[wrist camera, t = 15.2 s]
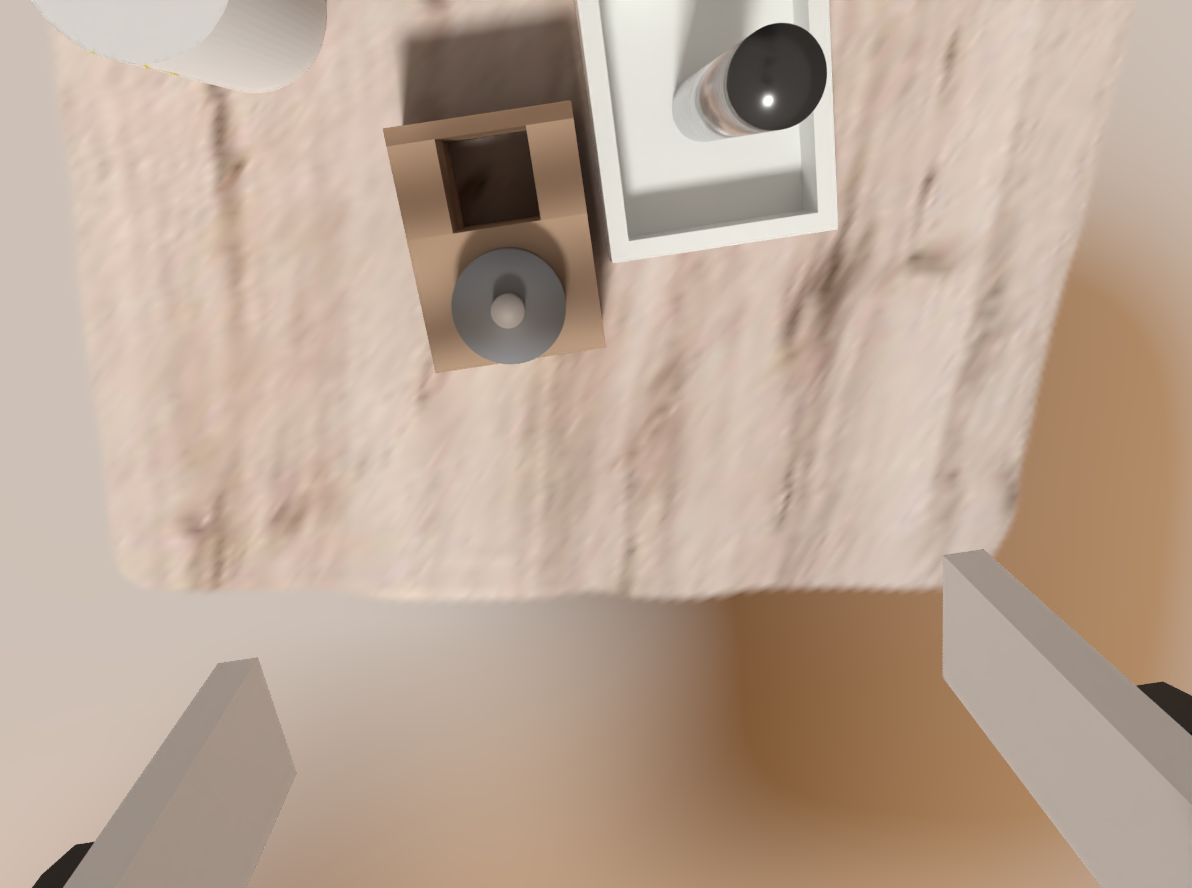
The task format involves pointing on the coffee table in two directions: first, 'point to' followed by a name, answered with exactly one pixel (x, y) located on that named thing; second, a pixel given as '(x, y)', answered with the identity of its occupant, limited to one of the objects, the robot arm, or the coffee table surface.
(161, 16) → the white cylinder
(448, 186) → the block
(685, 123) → the pin
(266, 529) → the coffee table surface
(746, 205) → the tray
